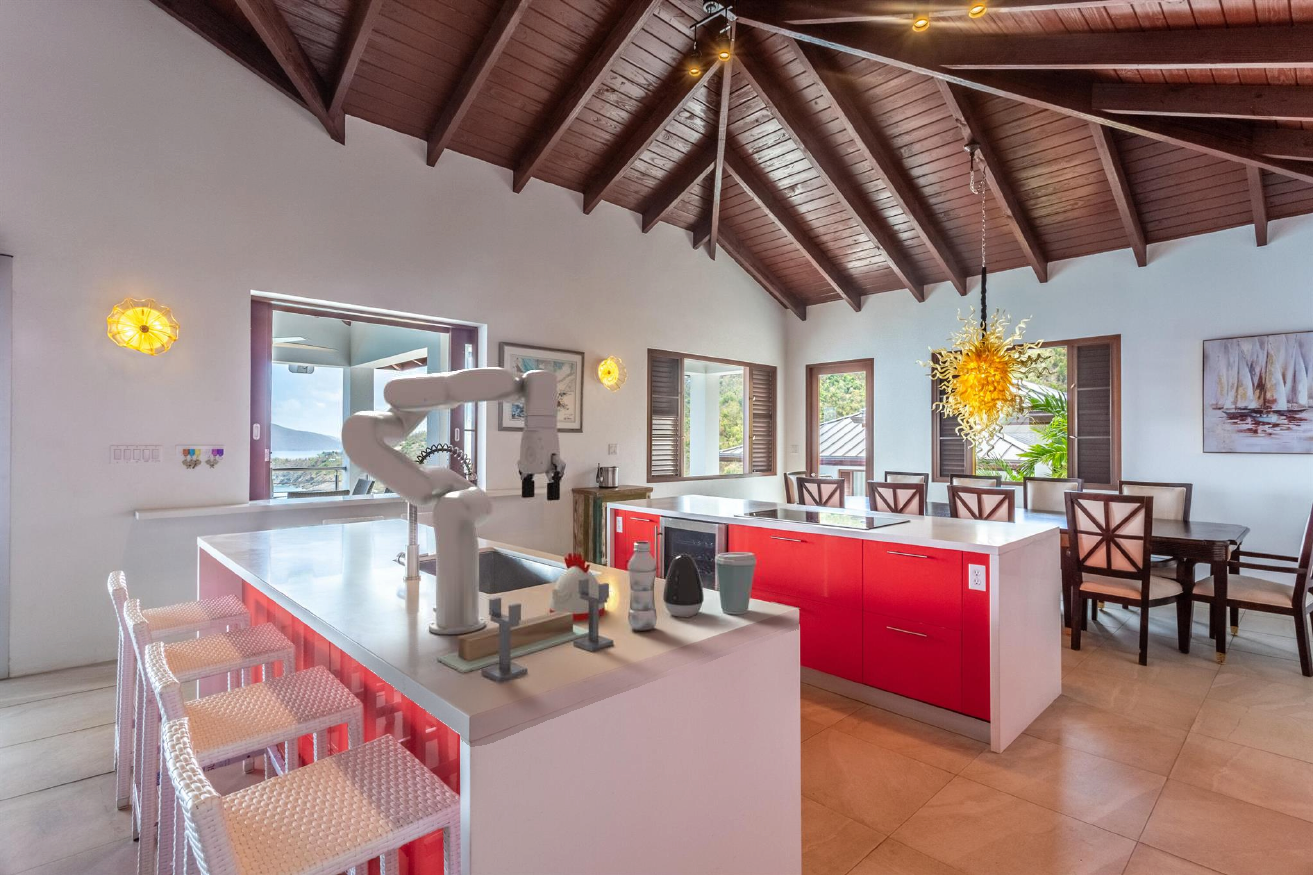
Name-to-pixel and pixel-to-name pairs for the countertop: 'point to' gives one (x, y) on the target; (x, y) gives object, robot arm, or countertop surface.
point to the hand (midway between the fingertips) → (540, 498)
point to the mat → (493, 659)
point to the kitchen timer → (574, 589)
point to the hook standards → (506, 667)
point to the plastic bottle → (642, 588)
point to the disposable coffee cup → (735, 580)
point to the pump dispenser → (683, 587)
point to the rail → (515, 635)
